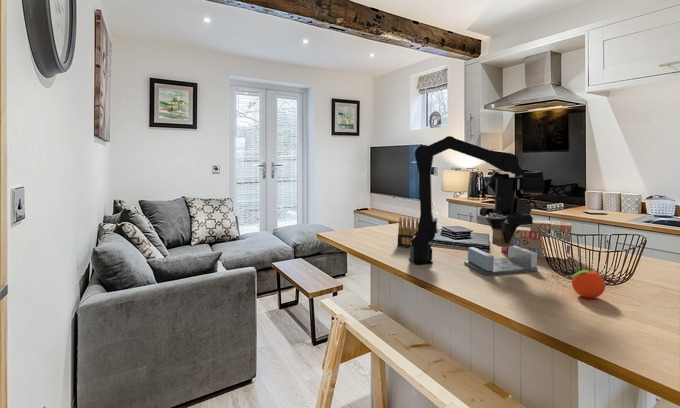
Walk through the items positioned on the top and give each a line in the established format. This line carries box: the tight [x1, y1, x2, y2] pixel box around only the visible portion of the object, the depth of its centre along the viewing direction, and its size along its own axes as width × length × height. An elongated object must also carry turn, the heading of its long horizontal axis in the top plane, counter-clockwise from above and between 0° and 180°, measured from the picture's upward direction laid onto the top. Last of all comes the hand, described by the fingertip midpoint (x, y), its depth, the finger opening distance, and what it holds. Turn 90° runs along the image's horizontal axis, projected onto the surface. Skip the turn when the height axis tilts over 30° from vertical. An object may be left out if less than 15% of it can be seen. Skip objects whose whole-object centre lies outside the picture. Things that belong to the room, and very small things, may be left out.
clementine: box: [570, 269, 606, 299], centre depth 88 cm, size 8×7×7 cm
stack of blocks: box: [501, 219, 573, 258], centre depth 126 cm, size 21×6×12 cm, turn 59°
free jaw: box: [467, 246, 495, 271], centre depth 111 cm, size 2×11×4 cm, turn 10°
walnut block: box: [491, 228, 515, 248], centre depth 111 cm, size 5×4×5 cm
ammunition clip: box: [396, 216, 419, 248], centre depth 139 cm, size 11×2×12 cm, turn 59°
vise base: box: [463, 245, 539, 277], centre depth 112 cm, size 18×12×6 cm, turn 100°
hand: (503, 241), depth 112 cm, fingers closed on walnut block, 4 cm apart
